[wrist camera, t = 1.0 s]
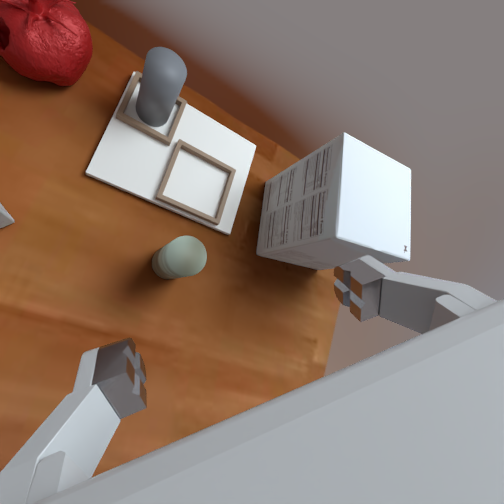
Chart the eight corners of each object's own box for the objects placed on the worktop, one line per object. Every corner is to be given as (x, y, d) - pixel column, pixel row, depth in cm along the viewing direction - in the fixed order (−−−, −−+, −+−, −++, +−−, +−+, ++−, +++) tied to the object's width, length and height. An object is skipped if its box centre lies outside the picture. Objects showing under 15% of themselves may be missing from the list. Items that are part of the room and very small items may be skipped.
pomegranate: (98, 42, 38) (101, -25, 30) (84, 109, 36) (84, 56, 28) (2, -2, 33) (-25, -96, 25) (-20, 72, 31) (-56, -4, 23)
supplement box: (323, 202, 54) (413, 168, 39) (318, 271, 51) (412, 262, 36) (264, 180, 48) (343, 128, 33) (254, 256, 45) (335, 238, 30)
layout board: (85, 174, 35) (83, 136, 26) (133, 75, 39) (143, 15, 31) (227, 235, 43) (260, 221, 35) (254, 147, 48) (288, 116, 39)
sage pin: (146, 273, 37) (160, 268, 29) (158, 242, 38) (174, 229, 30) (178, 283, 39) (199, 281, 31) (188, 253, 40) (211, 244, 32)
